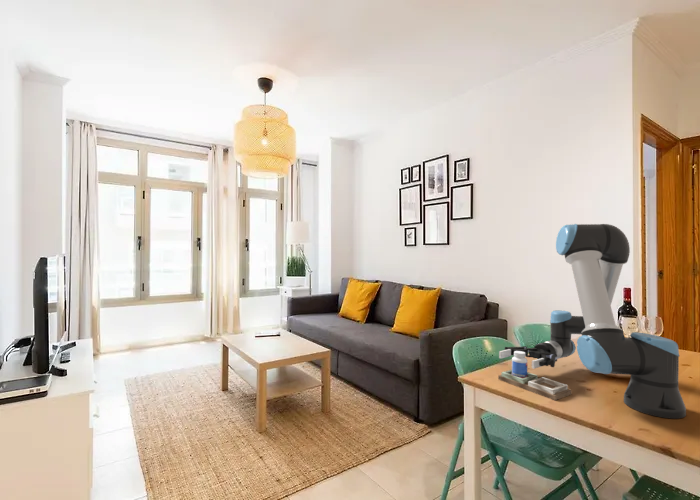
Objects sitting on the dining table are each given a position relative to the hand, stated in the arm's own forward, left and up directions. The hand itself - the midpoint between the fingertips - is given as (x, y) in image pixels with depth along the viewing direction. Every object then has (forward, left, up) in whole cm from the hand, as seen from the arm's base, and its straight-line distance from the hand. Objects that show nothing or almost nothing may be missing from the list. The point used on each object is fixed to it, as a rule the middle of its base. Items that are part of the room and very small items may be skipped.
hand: (515, 359), depth 134 cm
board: (-5, -3, -9) cm, 11 cm away
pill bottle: (0, -3, -8) cm, 8 cm away
